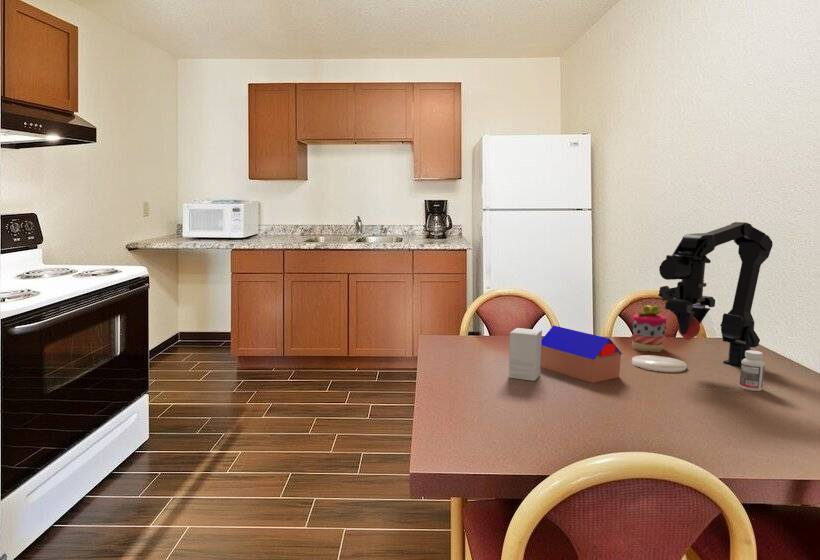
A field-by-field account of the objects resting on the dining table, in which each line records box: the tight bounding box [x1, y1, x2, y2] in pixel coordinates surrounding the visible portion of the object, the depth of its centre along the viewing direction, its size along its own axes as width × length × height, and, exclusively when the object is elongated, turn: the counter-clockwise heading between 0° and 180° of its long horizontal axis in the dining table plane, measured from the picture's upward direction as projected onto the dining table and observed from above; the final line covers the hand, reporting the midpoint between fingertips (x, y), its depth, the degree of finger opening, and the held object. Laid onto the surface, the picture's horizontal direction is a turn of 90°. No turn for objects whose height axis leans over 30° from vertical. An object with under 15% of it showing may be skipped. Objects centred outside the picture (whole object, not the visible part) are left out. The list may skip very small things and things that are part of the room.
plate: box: [631, 354, 688, 373], centre depth 181 cm, size 15×15×1 cm
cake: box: [630, 305, 667, 353], centre depth 202 cm, size 10×10×15 cm
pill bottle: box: [739, 350, 766, 392], centre depth 159 cm, size 5×5×10 cm
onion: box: [677, 317, 701, 341], centre depth 174 cm, size 6×6×8 cm
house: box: [540, 325, 623, 384], centre depth 172 cm, size 12×20×12 cm, turn 34°
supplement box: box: [508, 327, 543, 382], centre depth 165 cm, size 7×7×13 cm
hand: (688, 332), depth 175 cm, fingers closed on onion, 6 cm apart
